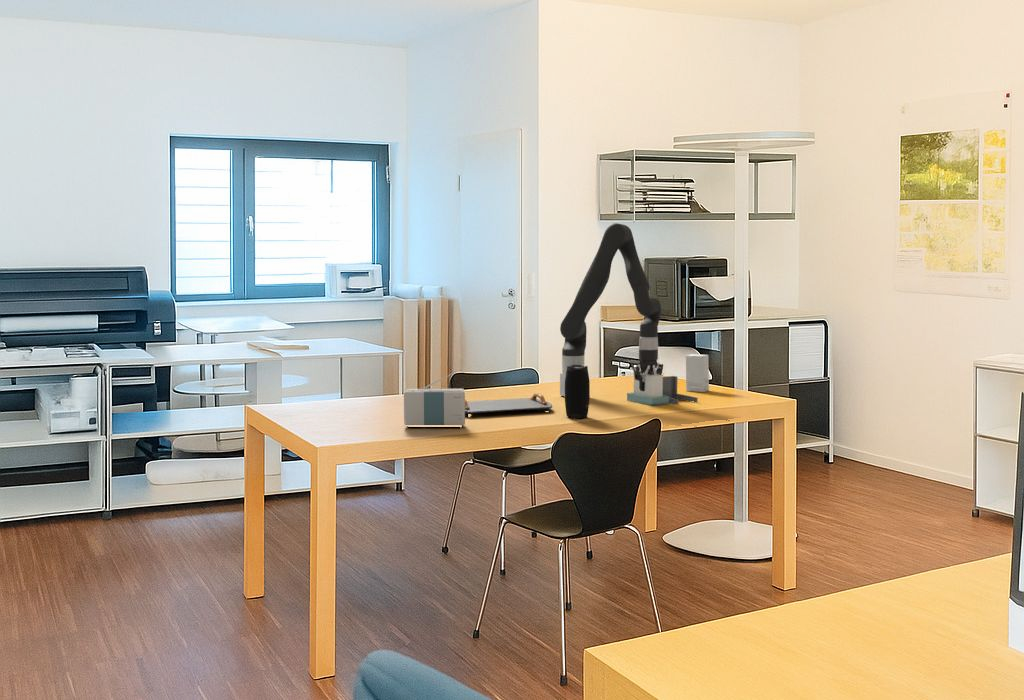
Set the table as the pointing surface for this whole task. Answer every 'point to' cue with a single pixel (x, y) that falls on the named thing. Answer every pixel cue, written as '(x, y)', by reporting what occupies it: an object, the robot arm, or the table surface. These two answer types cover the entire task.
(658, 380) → the light grey block
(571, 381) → the portable speaker
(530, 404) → the serving board
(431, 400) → the stereo radio cassette player
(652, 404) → the tray
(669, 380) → the bay
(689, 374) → the skincare box
